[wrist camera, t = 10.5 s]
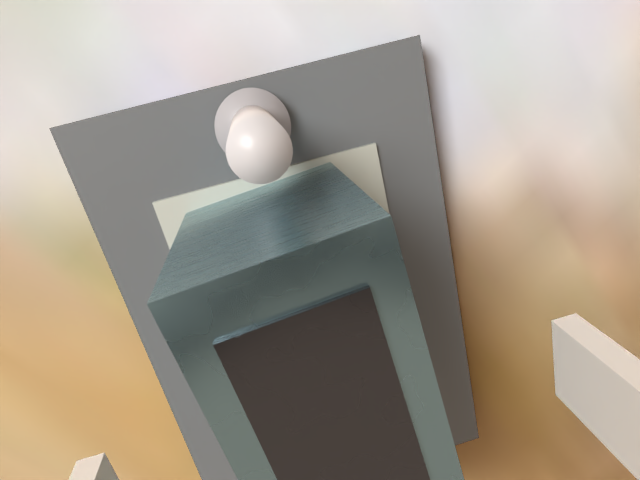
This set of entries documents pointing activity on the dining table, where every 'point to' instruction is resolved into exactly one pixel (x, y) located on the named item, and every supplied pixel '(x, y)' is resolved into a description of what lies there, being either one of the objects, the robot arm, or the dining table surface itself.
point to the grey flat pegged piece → (266, 167)
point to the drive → (304, 335)
